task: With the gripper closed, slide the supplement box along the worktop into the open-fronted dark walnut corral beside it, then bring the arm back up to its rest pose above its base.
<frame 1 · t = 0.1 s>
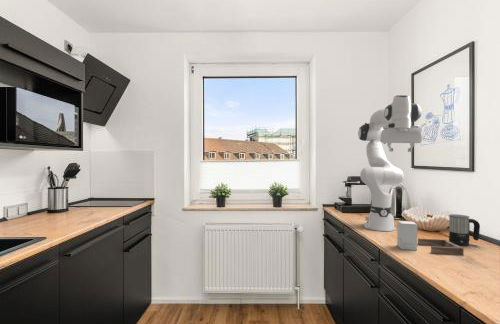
hand: (400, 151, 165), 48 cm above the worktop, tool pointing down, fingers open, 8 cm apart
supplement box: (406, 248, 154), on the worktop
walnut corral: (436, 249, 153), on the worktop
milk frother: (458, 242, 168), on the worktop
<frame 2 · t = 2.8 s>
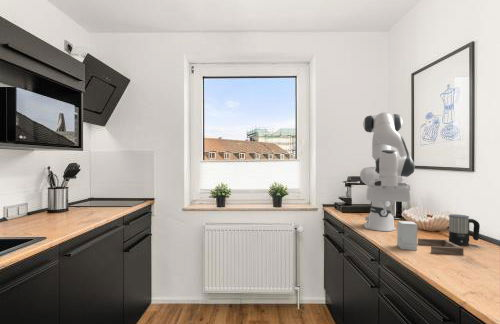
hand: (387, 210, 155), 18 cm above the worktop, tool pointing down, fingers closed
nothing on the worktop moved.
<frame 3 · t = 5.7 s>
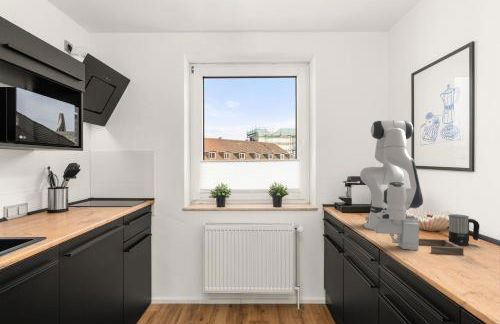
hand: (395, 242, 155), 2 cm above the worktop, tool pointing down, fingers closed
supplement box: (407, 248, 154), on the worktop, touching gripper
everything else where it was.
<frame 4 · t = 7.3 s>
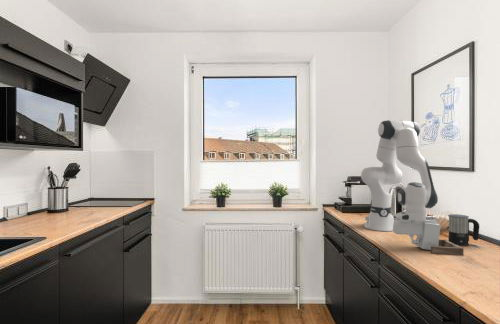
hand: (414, 243, 154), 2 cm above the worktop, tool pointing down, fingers closed
supplement box: (426, 248, 153), on the worktop, touching gripper
everything else where it was.
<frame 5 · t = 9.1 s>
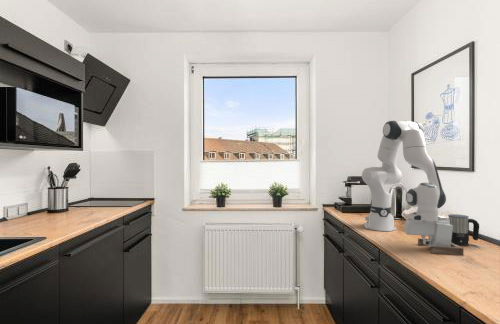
hand: (426, 244, 153), 2 cm above the worktop, tool pointing down, fingers closed
supplement box: (438, 248, 153), on the worktop, touching gripper
everything else where it was.
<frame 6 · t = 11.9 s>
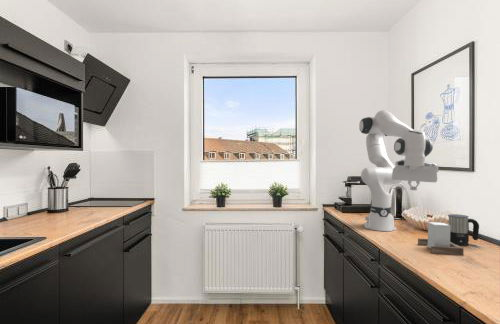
hand: (413, 190, 157), 28 cm above the worktop, tool pointing down, fingers closed
supplement box: (438, 249, 153), on the worktop
everything else where it was.
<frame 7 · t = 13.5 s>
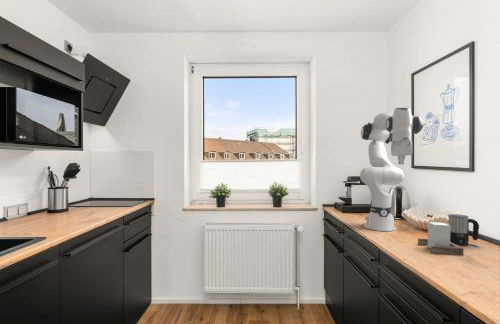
hand: (401, 164, 164), 41 cm above the worktop, tool pointing down, fingers closed
nothing on the worktop moved.
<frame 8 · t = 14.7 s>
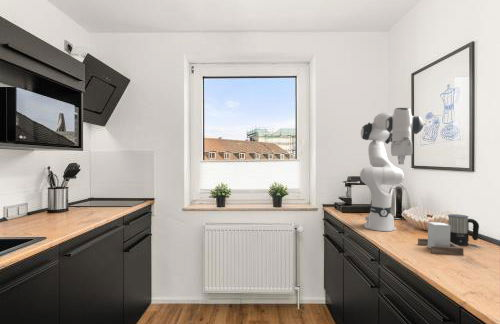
hand: (401, 164, 164), 41 cm above the worktop, tool pointing down, fingers closed
nothing on the worktop moved.
at the end: supplement box inside the target area on the walnut corral (0.7 cm from its centre), point 0.0 cm above the walnut corral's base; supplement box tilted 0° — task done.
